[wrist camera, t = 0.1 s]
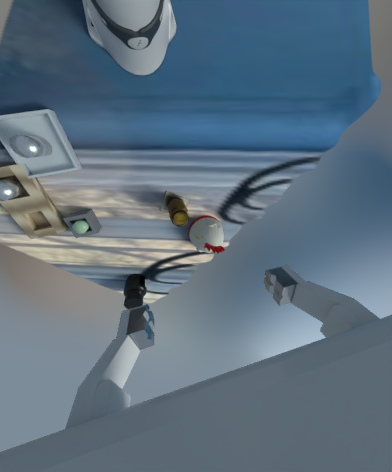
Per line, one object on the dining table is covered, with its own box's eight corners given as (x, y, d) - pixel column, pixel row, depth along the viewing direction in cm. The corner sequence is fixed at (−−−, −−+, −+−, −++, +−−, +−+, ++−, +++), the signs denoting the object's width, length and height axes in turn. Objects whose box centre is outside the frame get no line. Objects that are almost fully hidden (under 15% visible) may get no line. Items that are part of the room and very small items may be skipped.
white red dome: (195, 211, 60) (206, 230, 47) (226, 220, 64) (243, 238, 52) (184, 242, 65) (190, 265, 53) (212, 247, 70) (225, 270, 58)
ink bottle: (138, 291, 73) (135, 314, 63) (121, 283, 69) (115, 307, 59) (151, 278, 71) (150, 300, 61) (134, 269, 67) (131, 292, 57)
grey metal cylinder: (26, 137, 39) (3, 136, 33) (45, 135, 40) (25, 133, 34) (38, 157, 41) (18, 159, 35) (56, 154, 42) (39, 156, 36)
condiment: (181, 217, 59) (186, 232, 49) (159, 209, 56) (160, 224, 46) (188, 199, 57) (195, 211, 46) (166, 190, 53) (168, 201, 43)
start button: (73, 220, 49) (69, 224, 47) (86, 217, 50) (82, 221, 47) (80, 230, 51) (76, 234, 49) (92, 227, 52) (89, 232, 49)
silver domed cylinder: (3, 179, 42) (-22, 185, 36) (21, 176, 42) (-1, 181, 37) (15, 195, 44) (-6, 203, 38) (32, 192, 45) (13, 199, 39)
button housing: (69, 213, 50) (63, 218, 47) (91, 209, 51) (87, 213, 48) (80, 232, 54) (75, 237, 51) (101, 227, 55) (98, 232, 51)
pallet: (-16, 169, 41) (-27, 171, 38) (26, 162, 42) (18, 164, 39) (37, 234, 51) (30, 239, 49) (69, 227, 52) (64, 231, 50)
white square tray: (-6, 119, 37) (-16, 117, 35) (54, 111, 38) (48, 109, 36) (33, 177, 44) (27, 178, 41) (82, 168, 45) (79, 169, 43)
